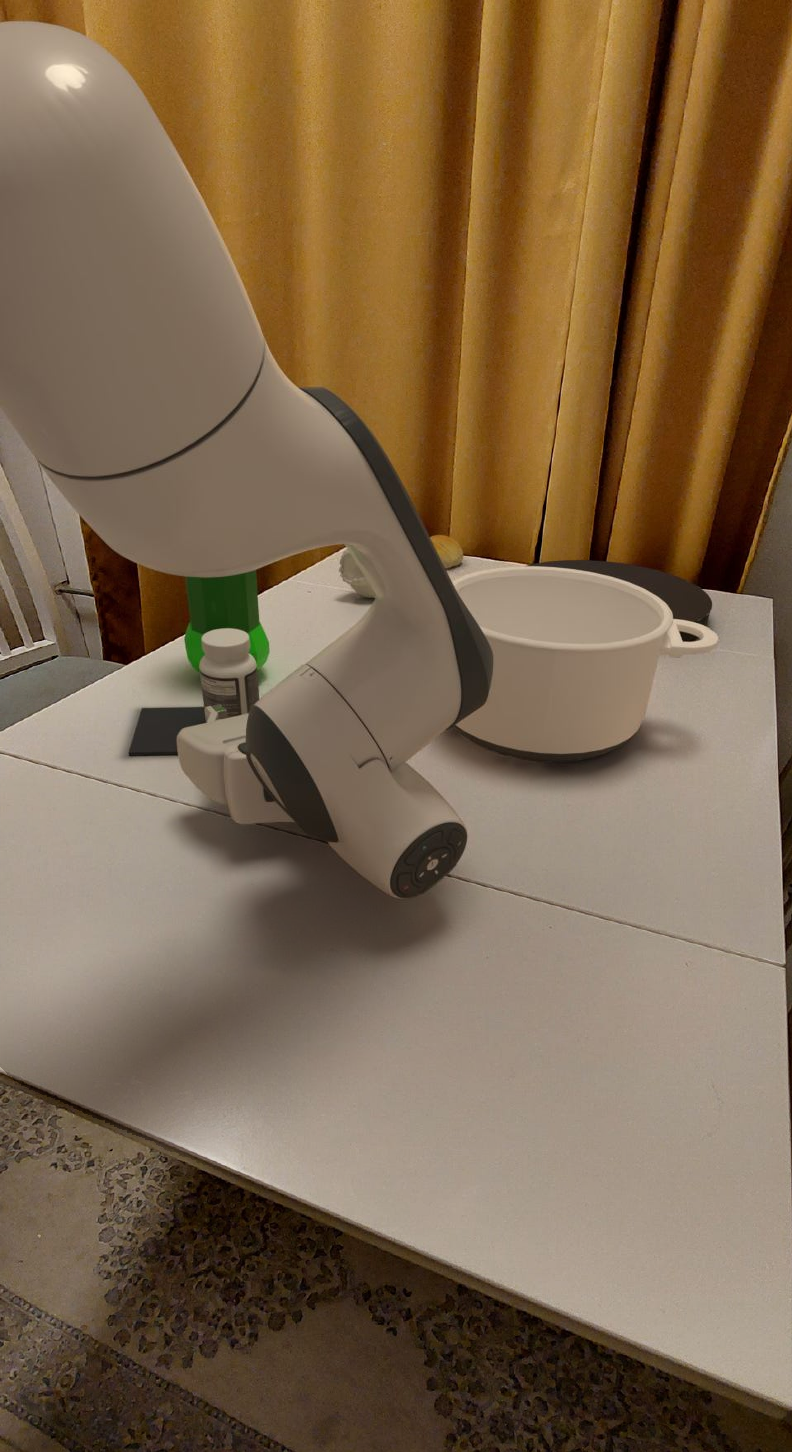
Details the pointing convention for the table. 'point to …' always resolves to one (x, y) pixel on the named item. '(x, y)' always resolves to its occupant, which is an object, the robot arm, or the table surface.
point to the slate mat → (163, 729)
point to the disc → (652, 587)
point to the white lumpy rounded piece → (355, 576)
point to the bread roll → (447, 550)
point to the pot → (568, 659)
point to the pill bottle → (228, 671)
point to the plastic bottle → (224, 613)
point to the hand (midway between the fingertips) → (259, 702)
